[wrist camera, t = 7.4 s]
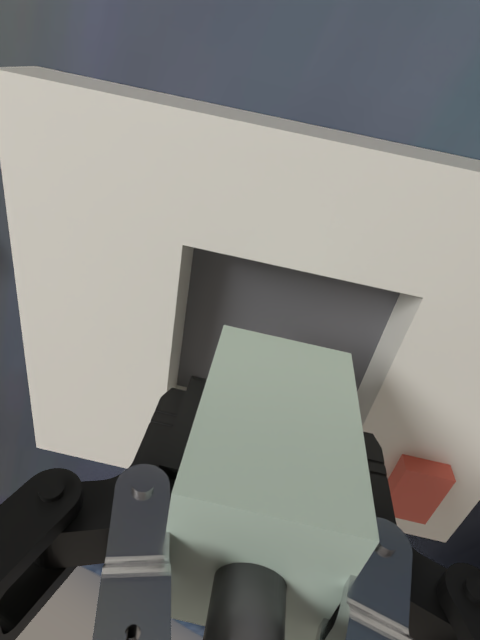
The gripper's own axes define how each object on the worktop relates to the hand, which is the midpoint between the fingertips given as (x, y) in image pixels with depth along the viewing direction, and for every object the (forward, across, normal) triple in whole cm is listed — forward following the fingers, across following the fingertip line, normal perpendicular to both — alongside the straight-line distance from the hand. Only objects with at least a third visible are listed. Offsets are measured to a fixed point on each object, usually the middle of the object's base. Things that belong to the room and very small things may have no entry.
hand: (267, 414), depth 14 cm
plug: (+1, 0, 0) cm, 1 cm away
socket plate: (+5, 0, 0) cm, 5 cm away
